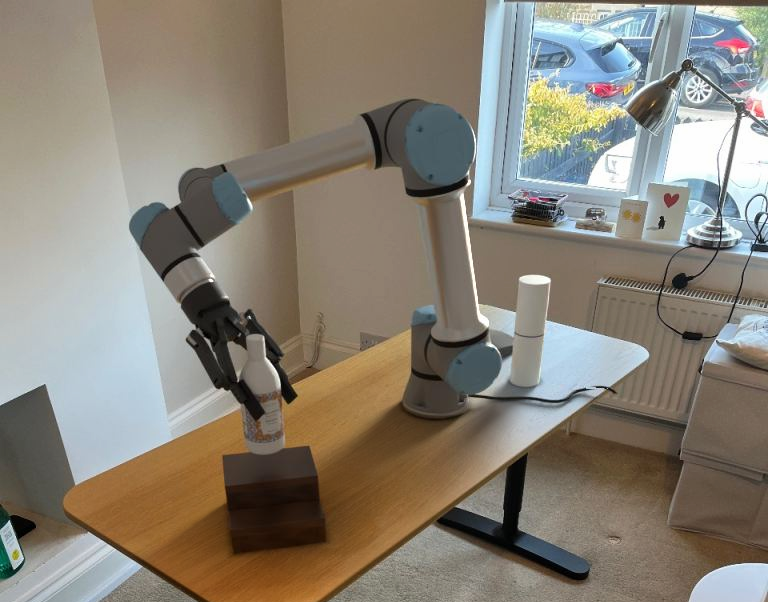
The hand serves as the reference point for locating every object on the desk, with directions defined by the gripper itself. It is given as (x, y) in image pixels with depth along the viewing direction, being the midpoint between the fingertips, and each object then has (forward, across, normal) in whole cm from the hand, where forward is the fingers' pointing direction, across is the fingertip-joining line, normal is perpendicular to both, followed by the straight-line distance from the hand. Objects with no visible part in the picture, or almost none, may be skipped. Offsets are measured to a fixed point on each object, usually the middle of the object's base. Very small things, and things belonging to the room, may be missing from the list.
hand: (276, 408), depth 127 cm
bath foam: (+4, 0, -9) cm, 9 cm away
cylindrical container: (+20, -79, -12) cm, 82 cm away
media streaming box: (+6, -91, -25) cm, 94 cm away
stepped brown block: (+15, +2, -16) cm, 22 cm away
